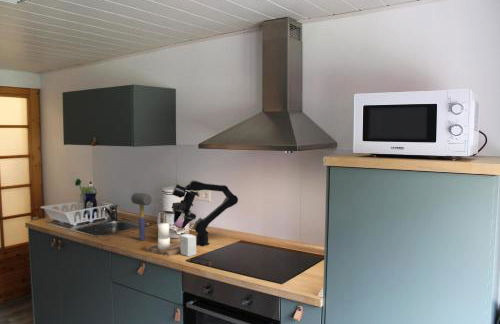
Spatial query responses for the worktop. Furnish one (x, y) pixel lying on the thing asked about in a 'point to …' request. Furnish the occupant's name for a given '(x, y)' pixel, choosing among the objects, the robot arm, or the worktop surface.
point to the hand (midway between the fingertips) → (178, 225)
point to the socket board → (173, 250)
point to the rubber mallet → (141, 210)
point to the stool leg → (163, 236)
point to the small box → (188, 245)
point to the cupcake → (179, 223)
